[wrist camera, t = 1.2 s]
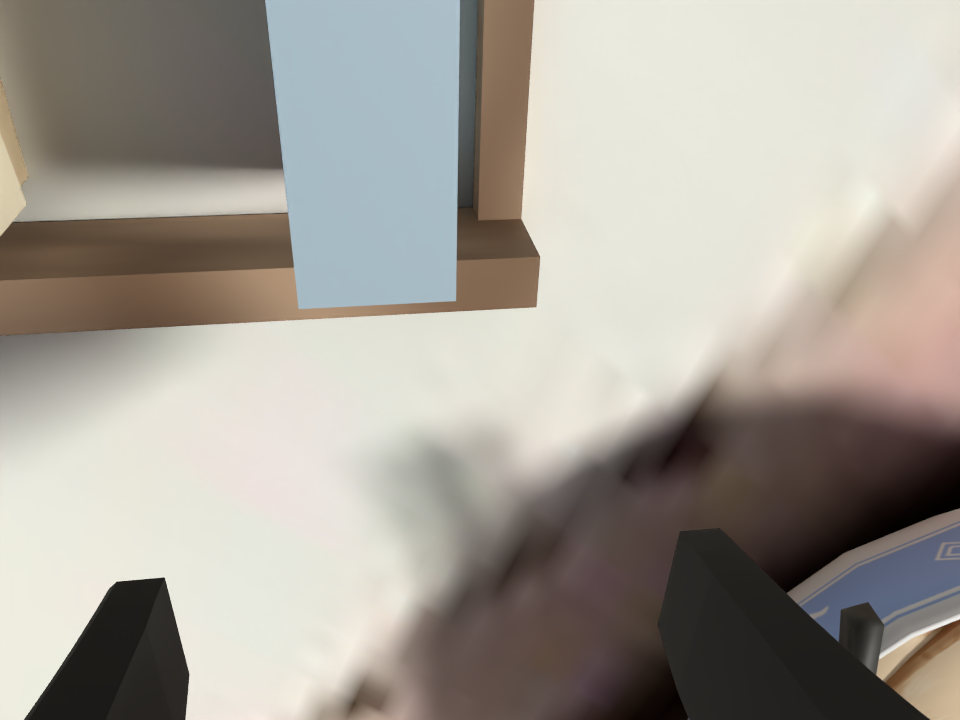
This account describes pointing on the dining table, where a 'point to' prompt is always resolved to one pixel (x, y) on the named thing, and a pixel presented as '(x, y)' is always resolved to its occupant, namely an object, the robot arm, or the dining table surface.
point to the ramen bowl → (898, 610)
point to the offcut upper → (9, 191)
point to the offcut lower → (11, 139)
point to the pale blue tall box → (369, 147)
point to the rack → (279, 236)
